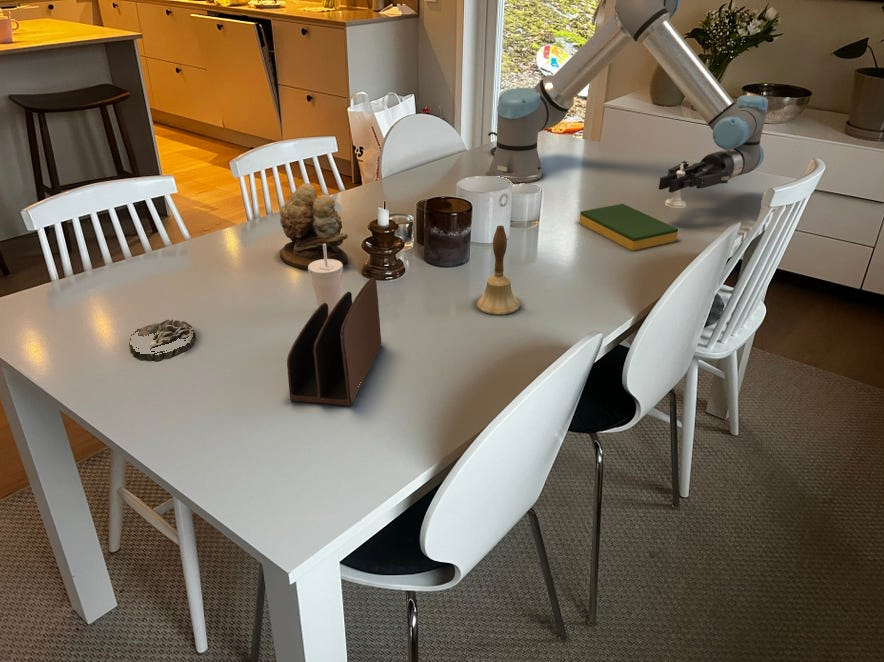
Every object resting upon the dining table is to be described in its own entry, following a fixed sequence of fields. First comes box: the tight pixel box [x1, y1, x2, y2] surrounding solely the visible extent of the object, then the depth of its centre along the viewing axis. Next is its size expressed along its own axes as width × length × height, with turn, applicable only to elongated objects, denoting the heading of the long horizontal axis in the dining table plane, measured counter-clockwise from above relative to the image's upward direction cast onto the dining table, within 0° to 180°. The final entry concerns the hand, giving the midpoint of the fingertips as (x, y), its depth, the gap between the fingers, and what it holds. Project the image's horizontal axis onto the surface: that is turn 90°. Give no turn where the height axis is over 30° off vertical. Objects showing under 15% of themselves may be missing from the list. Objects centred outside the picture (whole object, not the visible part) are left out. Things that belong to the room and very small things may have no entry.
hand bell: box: [476, 224, 521, 316], centre depth 140 cm, size 8×8×16 cm
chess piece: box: [664, 163, 687, 209], centre depth 178 cm, size 5×5×10 cm
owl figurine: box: [279, 182, 349, 271], centre depth 159 cm, size 18×12×17 cm, turn 57°
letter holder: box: [286, 277, 382, 407], centre depth 119 cm, size 10×20×14 cm, turn 171°
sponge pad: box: [579, 203, 679, 251], centre depth 178 cm, size 20×13×3 cm, turn 27°
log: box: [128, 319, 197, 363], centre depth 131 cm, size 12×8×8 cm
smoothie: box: [307, 244, 344, 316], centre depth 138 cm, size 6×6×14 cm
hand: (665, 185), depth 174 cm, fingers closed on chess piece, 2 cm apart
